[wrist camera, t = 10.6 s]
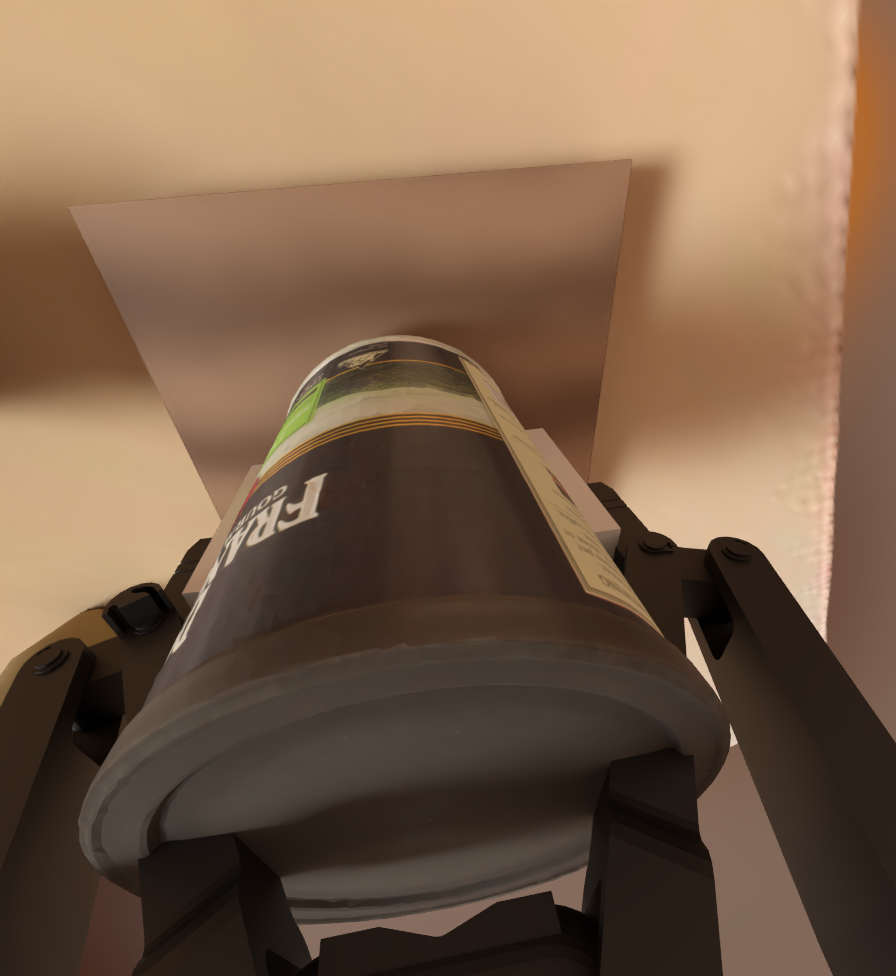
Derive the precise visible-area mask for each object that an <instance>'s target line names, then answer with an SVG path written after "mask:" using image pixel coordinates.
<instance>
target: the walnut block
mask: <svg viewBox="0 0 896 976" xmlns="http://www.w3.org/2000/svg"><path fill="white" fill-rule="evenodd" d="M631 163H632V159H626V160H614V161H602V162H591V163H579V164H567V165H555V166H543V167H531V168H519V169H507V170H495V171H484V172H472V173H460V174H448V175H436V176H424V177H412V178H400V179H388V180H376V181H365V182H353V183H341V184H329V185H317V186H305V187H293V188H281V189H269V190H257V191H246V192H234V193H222V194H210V195H198V196H186V197H174V198H162V199H150V200H138V201H127V202H115V203H103V204H91V205H79V206H68V208H69V211H70V213H71V215H72V217H73V219H74V221H75V223H76V225H77V227H78V229H79V231H80V233H81V235H82V237H83V239H84V241H85V243H86V245H87V247H88V249H89V251H90V253H91V255H92V257H93V259H94V262H95V264H96V266H97V268H98V270H99V272H100V274H101V276H102V278H103V280H104V282H105V284H106V286H107V288H108V290H109V292H110V294H111V296H112V298H113V300H114V302H115V304H116V306H117V308H118V311H119V313H120V315H121V317H122V319H123V321H124V323H125V325H126V327H127V329H128V331H129V333H130V335H131V337H132V339H133V341H134V343H135V345H136V347H137V349H138V351H139V353H140V355H141V357H142V359H143V362H144V364H145V366H146V368H147V370H148V372H149V374H150V376H151V378H152V380H153V382H154V384H155V386H156V388H157V390H158V392H159V394H160V396H161V398H162V400H163V402H164V404H165V406H166V408H167V410H168V413H169V415H170V417H171V419H172V421H173V423H174V425H175V427H176V429H177V431H178V433H179V435H180V437H181V439H182V441H183V443H184V445H185V447H186V449H187V451H188V453H189V455H190V457H191V459H192V461H193V464H194V466H195V468H196V470H197V472H198V474H199V476H200V478H201V480H202V482H203V484H204V486H205V488H206V490H207V492H208V494H209V496H210V498H211V500H212V502H213V504H214V506H215V508H216V510H217V513H218V515H219V517H220V519H221V521H222V519H223V517H224V516H225V514H226V512H227V510H228V508H229V506H230V505H231V503H232V501H233V499H234V497H235V495H236V494H237V492H238V490H239V488H240V486H241V484H242V483H243V481H244V479H245V477H246V475H247V473H248V472H249V470H250V468H251V466H253V465H261V464H264V462H265V460H266V458H267V456H268V454H269V451H270V449H271V448H272V446H273V444H274V442H275V440H276V438H277V436H278V434H279V432H280V430H281V428H282V426H283V423H284V421H285V419H286V417H287V413H288V410H289V407H290V404H291V401H292V399H293V397H294V395H295V394H296V392H297V390H298V389H299V387H300V385H301V384H302V383H303V381H304V380H305V379H306V377H307V376H308V375H309V374H310V373H311V372H312V371H313V369H314V368H316V367H317V366H318V365H319V364H320V363H321V362H322V361H324V360H325V359H326V358H328V357H329V356H330V355H332V354H333V353H335V352H337V351H339V350H340V349H342V348H344V347H347V346H348V345H350V344H353V343H356V342H359V341H361V340H365V339H370V338H375V337H380V336H390V335H410V336H418V337H423V338H427V339H432V340H436V341H439V342H441V343H444V344H446V345H449V346H452V347H454V348H456V349H458V350H460V351H462V352H463V353H464V354H465V355H467V356H469V357H470V358H471V359H473V360H474V361H475V362H477V363H478V364H479V365H480V366H481V367H482V368H483V369H484V370H485V371H486V372H487V373H488V374H489V375H490V377H491V378H492V379H493V380H494V382H495V383H496V385H497V386H498V387H499V389H500V391H501V393H502V395H503V397H504V399H505V401H506V403H507V404H508V406H509V407H510V409H511V410H512V412H513V413H514V415H515V416H516V418H517V419H518V421H519V422H520V424H521V425H522V427H523V428H524V429H525V430H531V429H539V428H543V429H544V430H545V432H546V433H547V434H548V436H549V437H550V438H551V439H552V441H553V442H554V443H555V445H556V446H557V447H558V448H559V450H560V451H561V452H562V454H563V455H564V456H565V457H566V459H567V460H568V461H569V463H570V464H571V465H572V466H573V468H574V469H575V470H576V472H577V473H578V474H579V475H580V477H581V478H582V479H583V481H584V482H585V483H586V484H588V477H589V470H590V463H591V455H592V448H593V441H594V433H595V426H596V419H597V411H598V404H599V397H600V389H601V382H602V375H603V368H604V360H605V353H606V346H607V338H608V331H609V324H610V316H611V309H612V302H613V295H614V287H615V280H616V273H617V265H618V258H619V251H620V243H621V236H622V229H623V221H624V214H625V207H626V200H627V192H628V185H629V178H630V170H631Z"/></svg>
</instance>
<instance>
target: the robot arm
mask: <svg viewBox="0 0 896 976" xmlns="http://www.w3.org/2000/svg"><path fill="white" fill-rule="evenodd" d="M525 431H526V432H527V434H528V436H529V437H530V439H531V440H532V442H533V443H534V445H535V446H536V448H537V449H538V451H539V452H540V454H541V455H542V457H543V458H544V460H545V461H546V463H547V464H548V465H549V467H550V468H551V470H552V471H553V473H554V474H555V476H556V477H557V479H558V480H559V482H560V483H561V485H562V486H563V488H564V489H565V491H566V492H567V493H568V495H569V496H570V498H571V499H572V501H573V502H574V504H575V505H576V507H577V508H578V510H579V511H580V512H581V514H582V515H583V516H584V518H585V519H586V521H587V522H588V524H589V525H590V527H591V529H592V531H593V532H594V534H595V535H596V537H597V538H598V540H599V541H600V543H601V544H602V545H603V547H604V548H605V550H606V551H607V553H608V554H609V556H610V557H611V559H612V560H613V562H614V563H615V565H616V566H617V567H618V569H619V570H620V572H621V573H622V575H623V576H624V578H625V579H626V581H627V582H628V584H629V585H630V587H631V588H632V590H633V591H634V593H635V594H636V596H637V597H638V599H639V600H640V602H641V603H642V605H643V606H644V608H645V609H646V611H647V612H648V614H649V615H650V617H651V618H652V620H653V621H654V623H655V624H656V626H657V627H658V629H659V630H660V631H661V633H662V634H663V636H664V637H665V639H667V640H668V641H669V642H671V643H672V644H673V645H675V646H676V647H677V648H678V649H679V650H680V651H681V652H682V653H683V654H684V655H685V656H686V642H685V628H684V617H685V618H688V620H689V622H690V625H691V627H692V630H693V632H694V635H695V637H696V640H697V642H698V645H699V647H700V649H701V652H702V654H703V657H704V659H705V662H706V664H707V667H708V669H709V672H710V674H711V677H712V679H713V682H714V684H715V687H716V689H717V692H718V694H719V697H720V699H721V702H722V704H723V706H724V708H725V710H726V712H727V715H728V718H729V722H730V724H731V727H732V729H733V731H734V734H735V736H736V739H737V741H738V744H739V746H740V749H741V751H742V754H743V756H744V759H745V761H746V764H747V766H748V769H749V771H750V773H751V776H752V779H753V781H754V783H755V786H756V789H757V791H758V794H759V796H760V798H761V801H762V804H763V806H764V809H765V811H766V813H767V816H768V818H769V821H770V823H771V826H772V828H773V831H774V833H775V836H776V838H777V841H778V843H779V846H780V848H781V851H782V853H783V856H784V858H785V861H786V863H787V866H788V868H789V871H790V873H791V876H792V878H793V881H794V883H795V886H796V888H797V891H798V893H799V895H800V898H801V900H802V903H803V905H804V908H805V910H806V913H807V915H808V918H809V920H810V923H811V925H812V928H813V930H814V933H815V935H816V938H817V940H818V943H819V945H820V947H821V949H822V952H823V954H824V956H825V959H826V961H827V963H828V965H829V968H830V970H831V972H832V974H833V976H896V743H895V741H894V740H893V738H892V737H891V735H890V734H889V733H888V731H887V730H886V728H885V727H884V725H883V724H882V723H881V721H880V720H879V718H878V717H877V715H876V714H875V713H874V711H873V710H872V708H871V707H870V705H869V704H868V703H867V701H866V700H865V698H864V697H863V695H862V694H861V693H860V691H859V690H858V688H857V687H856V685H855V684H854V683H853V681H852V680H851V678H850V677H849V675H848V674H847V673H846V671H845V670H844V668H843V667H842V665H841V664H840V663H839V661H838V660H837V658H836V657H835V655H834V654H833V653H832V651H831V650H830V648H829V647H828V645H827V644H826V642H825V641H824V640H823V638H822V637H821V635H820V634H819V632H818V631H817V630H816V628H815V627H814V625H813V624H812V622H811V621H810V620H809V618H808V617H807V615H806V614H805V612H804V611H803V610H802V608H801V607H800V605H799V604H798V602H797V601H796V600H795V598H794V597H793V595H792V594H791V592H790V591H789V589H788V588H787V587H786V585H785V584H784V582H783V581H782V579H781V578H780V577H779V575H778V574H777V572H776V571H775V569H774V568H773V567H772V565H771V564H770V562H769V561H768V559H767V558H766V557H765V555H764V554H763V553H762V552H761V551H760V550H759V549H758V548H757V547H756V546H754V545H752V544H751V543H749V542H747V541H744V540H741V539H738V538H732V537H718V538H715V539H713V540H711V542H710V544H709V546H708V548H707V550H704V549H692V548H682V547H677V545H676V544H675V543H674V542H673V541H672V540H671V539H670V538H668V537H666V536H664V535H663V534H659V533H656V532H649V530H648V529H647V528H646V527H645V526H644V525H643V523H642V522H641V521H640V520H639V519H638V518H637V517H636V515H635V514H634V513H633V512H632V511H631V510H630V508H629V507H627V505H626V504H625V503H624V501H623V500H621V498H620V497H619V496H618V495H617V493H616V492H615V491H614V490H613V489H612V488H610V487H608V486H606V485H605V484H603V483H601V482H598V483H591V484H586V483H585V482H584V481H583V479H582V478H581V477H580V475H579V474H578V473H577V472H576V470H575V469H574V468H573V466H572V465H571V464H570V463H569V461H568V460H567V459H566V457H565V456H564V455H563V454H562V452H561V451H560V450H559V448H558V447H557V446H556V445H555V443H554V442H553V441H552V439H551V438H550V437H549V436H548V434H547V433H546V432H545V430H544V429H543V428H539V429H531V430H525ZM262 466H263V464H261V465H253V466H251V468H250V470H249V472H248V473H247V475H246V477H245V479H244V481H243V483H242V484H241V486H240V488H239V490H238V492H237V494H236V495H235V497H234V499H233V501H232V503H231V505H230V506H229V508H228V510H227V512H226V514H225V516H224V517H223V519H222V521H221V523H220V525H219V527H218V528H217V530H216V532H215V534H214V536H213V538H205V539H200V540H199V541H198V542H197V543H196V544H194V545H193V546H192V547H191V548H190V549H189V550H188V551H187V553H186V554H185V556H184V558H183V559H182V561H181V564H180V565H179V566H178V567H177V569H176V571H175V574H173V576H172V577H171V579H170V581H169V582H168V584H167V586H166V587H165V589H164V590H163V589H162V588H161V586H160V585H159V584H156V583H142V584H139V585H136V586H133V587H130V588H129V589H127V590H125V591H123V592H121V593H119V594H118V595H117V596H116V597H114V598H113V599H112V600H110V602H109V603H108V604H107V605H106V606H105V608H104V609H103V612H102V616H101V617H102V618H103V619H104V620H105V621H106V623H107V624H108V625H109V626H110V627H111V629H112V630H113V631H114V632H115V633H116V635H117V636H116V637H113V638H111V639H108V640H105V641H103V642H100V643H97V644H95V645H92V646H89V647H87V646H86V645H85V644H84V643H83V641H82V640H81V639H80V638H72V637H71V638H66V639H62V640H59V641H56V642H54V643H52V644H49V645H47V646H46V647H44V648H43V649H41V650H39V651H38V652H36V653H35V654H34V655H33V656H32V657H30V658H29V659H28V660H27V661H26V662H25V663H24V664H23V666H22V667H21V668H20V670H19V671H18V673H17V675H16V677H15V679H14V681H13V683H12V685H11V687H10V689H9V691H8V693H7V695H6V697H5V699H4V701H3V703H2V705H1V707H0V976H78V975H79V971H80V966H81V961H82V957H83V952H84V947H85V943H86V937H87V933H88V929H89V924H90V919H91V915H92V910H93V905H94V901H95V896H96V891H97V887H98V882H99V877H100V873H98V871H97V870H96V869H95V868H94V867H93V865H92V864H91V863H90V862H89V860H88V859H87V857H86V856H85V854H84V853H83V850H82V848H81V845H80V842H79V833H80V828H79V825H78V820H79V816H80V813H81V809H82V806H83V802H84V799H85V797H86V795H87V792H88V790H89V788H90V786H91V783H92V781H93V780H94V778H95V776H96V775H97V773H98V771H99V769H100V768H101V766H102V764H103V763H104V761H105V759H106V757H107V756H108V754H109V752H110V751H111V749H112V747H113V746H114V744H115V743H116V741H117V739H118V738H119V736H120V735H121V733H122V731H123V730H124V728H125V727H126V726H127V725H128V724H129V723H130V722H131V721H132V719H133V718H134V717H135V716H136V715H137V714H138V713H139V712H140V711H141V710H142V708H143V705H144V703H145V700H146V698H147V696H148V694H149V692H150V690H151V689H152V687H153V684H154V681H155V678H156V676H157V675H158V673H159V672H160V670H161V669H162V667H163V666H164V664H165V662H166V660H167V657H168V655H169V653H170V651H171V649H172V647H173V645H174V643H175V641H176V639H177V637H178V635H179V633H180V631H181V629H182V627H183V624H184V622H185V619H186V617H187V616H188V614H189V612H190V611H191V609H192V607H193V606H194V604H195V602H196V600H197V598H198V595H199V593H200V591H201V589H202V587H203V585H204V583H205V581H206V579H207V577H208V574H209V572H210V570H211V569H212V567H213V565H214V563H215V561H216V559H217V557H218V555H219V553H220V551H221V549H222V547H223V545H224V543H225V541H226V538H227V536H228V534H229V532H230V530H231V527H232V525H233V523H234V522H235V520H236V518H237V515H238V513H239V511H240V509H241V507H242V505H243V503H244V501H245V499H246V498H247V496H248V494H249V492H250V490H251V489H252V486H253V484H254V482H255V480H256V478H257V475H258V474H259V472H260V470H261V468H262ZM686 657H687V656H686ZM138 866H139V878H140V890H141V902H142V913H143V925H144V936H145V939H144V941H145V942H144V943H145V948H144V953H143V957H142V958H141V960H140V961H139V962H138V964H137V965H136V967H135V968H134V970H133V973H132V976H723V972H722V960H721V948H720V939H719V926H718V914H717V903H716V892H715V881H714V874H713V867H712V861H711V858H710V854H709V851H708V849H707V847H706V846H705V845H704V843H703V842H702V840H701V837H700V832H699V824H698V810H697V796H696V782H695V768H694V755H689V756H688V755H683V754H681V753H680V752H678V751H677V750H675V749H674V748H664V749H661V750H658V751H655V752H651V753H646V754H641V755H637V756H632V757H627V758H623V759H618V760H613V761H611V763H610V766H609V770H608V773H607V776H606V779H605V782H604V785H603V788H602V791H601V794H600V797H599V800H598V803H597V806H596V810H595V813H594V816H593V824H592V834H591V844H590V853H589V860H588V866H587V872H586V878H585V885H584V893H583V903H582V911H581V912H580V911H577V910H574V909H572V908H569V907H566V906H561V905H556V904H554V900H553V896H552V892H551V891H548V892H543V893H538V894H534V895H529V896H524V897H519V898H515V899H510V900H505V901H500V902H496V903H495V904H493V905H492V906H490V907H488V908H487V909H485V910H484V911H482V912H480V913H479V914H477V915H476V916H474V917H473V918H471V919H469V920H468V921H466V922H464V923H463V924H461V925H460V926H458V927H456V928H455V929H453V930H452V931H450V932H449V933H447V934H445V935H443V936H440V937H432V936H427V935H421V934H415V933H410V932H405V931H399V930H393V929H387V928H381V927H376V928H372V929H367V930H362V931H358V932H353V933H348V934H343V935H338V936H333V937H329V938H324V939H321V942H320V954H319V956H318V957H317V958H315V959H313V960H312V959H311V956H310V953H309V950H308V947H307V945H306V943H305V940H304V938H303V935H302V934H301V932H300V930H299V928H298V926H297V924H296V922H295V920H294V918H293V915H292V913H291V910H290V907H289V904H288V901H287V898H286V894H285V891H284V888H283V885H282V882H281V878H280V877H279V876H278V875H277V874H276V873H275V872H274V871H273V870H272V869H271V868H270V867H269V866H267V865H266V864H265V863H264V862H263V861H262V860H261V859H260V858H259V857H258V856H257V855H256V854H255V853H254V852H253V851H252V850H251V849H250V848H249V847H248V846H247V845H245V844H244V843H243V842H242V841H241V840H240V839H239V838H238V837H237V836H236V835H235V834H234V833H233V832H232V833H226V834H220V835H213V836H206V837H199V838H192V839H186V840H170V841H165V842H163V843H161V844H160V845H159V846H158V847H157V848H156V849H155V850H154V851H153V852H152V853H151V854H150V855H148V856H146V857H144V858H141V859H138Z"/></svg>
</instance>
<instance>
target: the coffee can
mask: <svg viewBox="0 0 896 976" xmlns="http://www.w3.org/2000/svg"><path fill="white" fill-rule="evenodd" d="M730 739H731V734H730V722H729V718H728V715H727V712H726V710H725V708H724V706H723V705H722V703H721V701H720V700H719V698H718V696H717V695H716V693H715V691H714V690H713V689H712V687H711V686H710V685H709V684H708V682H707V681H706V680H705V679H704V677H703V676H702V675H701V674H700V672H699V671H698V670H697V668H696V667H695V666H694V665H693V663H692V662H691V661H690V660H689V659H688V658H687V657H686V656H685V655H684V654H683V653H682V652H681V651H680V650H679V649H678V648H677V647H676V646H675V645H673V644H672V643H671V642H669V641H668V640H667V639H665V637H664V636H663V634H662V633H661V631H660V630H659V629H658V627H657V626H656V624H655V623H654V621H653V620H652V618H651V617H650V615H649V614H648V612H647V611H646V609H645V608H644V606H643V605H642V603H641V602H640V600H639V599H638V597H637V596H636V594H635V593H634V591H633V590H632V588H631V587H630V585H629V584H628V582H627V581H626V579H625V578H624V576H623V575H622V573H621V572H620V570H619V569H618V567H617V566H616V565H615V563H614V562H613V560H612V559H611V557H610V556H609V554H608V553H607V551H606V550H605V548H604V547H603V545H602V544H601V543H600V541H599V540H598V538H597V537H596V535H595V534H594V532H593V531H592V529H591V527H590V525H589V524H588V522H587V521H586V519H585V518H584V516H583V515H582V514H581V512H580V511H579V510H578V508H577V507H576V505H575V504H574V502H573V501H572V499H571V498H570V496H569V495H568V493H567V492H566V491H565V489H564V488H563V486H562V485H561V483H560V482H559V480H558V479H557V477H556V476H555V474H554V473H553V471H552V470H551V468H550V467H549V465H548V464H547V463H546V461H545V460H544V458H543V457H542V455H541V454H540V452H539V451H538V449H537V448H536V446H535V445H534V443H533V442H532V440H531V439H530V437H529V436H528V434H527V432H526V431H525V429H524V428H523V427H522V425H521V424H520V422H519V421H518V419H517V418H516V416H515V415H514V413H513V412H512V410H511V409H510V407H509V406H508V404H507V403H506V401H505V399H504V397H503V395H502V393H501V391H500V389H499V387H498V386H497V385H496V383H495V382H494V380H493V379H492V378H491V377H490V375H489V374H488V373H487V372H486V371H485V370H484V369H483V368H482V367H481V366H480V365H479V364H478V363H477V362H475V361H474V360H473V359H471V358H470V357H469V356H467V355H465V354H464V353H463V352H462V351H460V350H458V349H456V348H454V347H452V346H449V345H446V344H444V343H441V342H439V341H436V340H432V339H427V338H423V337H418V336H410V335H390V336H380V337H375V338H370V339H365V340H361V341H359V342H356V343H353V344H350V345H348V346H347V347H344V348H342V349H340V350H339V351H337V352H335V353H333V354H332V355H330V356H329V357H328V358H326V359H325V360H324V361H322V362H321V363H320V364H319V365H318V366H317V367H316V368H314V369H313V371H312V372H311V373H310V374H309V375H308V376H307V377H306V379H305V380H304V381H303V383H302V384H301V385H300V387H299V389H298V390H297V392H296V394H295V395H294V397H293V399H292V401H291V404H290V407H289V410H288V413H287V417H286V419H285V421H284V423H283V426H282V428H281V430H280V432H279V434H278V436H277V438H276V440H275V442H274V444H273V446H272V448H271V449H270V451H269V454H268V456H267V458H266V460H265V462H264V464H263V466H262V468H261V470H260V472H259V474H258V475H257V478H256V480H255V482H254V484H253V486H252V489H251V490H250V492H249V494H248V496H247V498H246V499H245V501H244V503H243V505H242V507H241V509H240V511H239V513H238V515H237V518H236V520H235V522H234V523H233V525H232V527H231V530H230V532H229V534H228V536H227V538H226V541H225V543H224V545H223V547H222V549H221V551H220V553H219V555H218V557H217V559H216V561H215V563H214V565H213V567H212V569H211V570H210V572H209V574H208V577H207V579H206V581H205V583H204V585H203V587H202V589H201V591H200V593H199V595H198V598H197V600H196V602H195V604H194V606H193V607H192V609H191V611H190V612H189V614H188V616H187V617H186V619H185V622H184V624H183V627H182V629H181V631H180V633H179V635H178V637H177V639H176V641H175V643H174V645H173V647H172V649H171V651H170V653H169V655H168V657H167V660H166V662H165V664H164V666H163V667H162V669H161V670H160V672H159V673H158V675H157V676H156V678H155V681H154V684H153V687H152V689H151V690H150V692H149V694H148V696H147V698H146V700H145V703H144V705H143V708H142V710H141V711H140V712H139V713H138V714H137V715H136V716H135V717H134V718H133V719H132V721H131V722H130V723H129V724H128V725H127V726H126V727H125V728H124V730H123V731H122V733H121V735H120V736H119V738H118V739H117V741H116V743H115V744H114V746H113V747H112V749H111V751H110V752H109V754H108V756H107V757H106V759H105V761H104V763H103V764H102V766H101V768H100V769H99V771H98V773H97V775H96V776H95V778H94V780H93V781H92V783H91V786H90V788H89V790H88V792H87V795H86V797H85V799H84V802H83V806H82V809H81V813H80V816H79V820H78V825H79V828H80V833H79V842H80V845H81V848H82V850H83V853H84V854H85V856H86V857H87V859H88V860H89V862H90V863H91V864H92V865H93V867H94V868H95V869H96V870H97V871H98V873H100V874H101V875H102V876H104V877H105V878H106V879H108V880H109V881H110V882H112V883H114V884H116V885H118V886H120V887H121V888H123V889H125V890H126V891H128V892H130V893H132V894H134V895H136V896H138V897H140V898H141V890H140V878H139V866H138V859H141V858H144V857H146V856H148V855H150V854H151V853H152V852H153V851H154V850H155V849H156V848H157V847H158V846H159V845H160V844H161V843H163V842H165V841H170V840H186V839H192V838H199V837H206V836H213V835H220V834H226V833H232V832H233V833H234V834H235V835H236V836H237V837H238V838H239V839H240V840H241V841H242V842H243V843H244V844H245V845H247V846H248V847H249V848H250V849H251V850H252V851H253V852H254V853H255V854H256V855H257V856H258V857H259V858H260V859H261V860H262V861H263V862H264V863H265V864H266V865H267V866H269V867H270V868H271V869H272V870H273V871H274V872H275V873H276V874H277V875H278V876H279V877H280V878H281V882H282V885H283V888H284V891H285V894H286V898H287V901H288V904H289V907H290V910H291V913H292V915H293V918H294V920H295V922H296V924H297V925H300V924H326V923H341V922H359V921H368V920H375V919H388V918H395V917H402V916H406V915H413V914H421V913H426V912H430V911H435V910H441V909H447V908H453V907H458V906H462V905H467V904H472V903H477V902H481V901H485V900H489V899H493V898H497V897H501V896H505V895H508V894H512V893H515V892H519V891H522V890H525V889H529V888H532V887H535V886H537V885H540V884H543V883H546V882H550V881H553V880H556V879H559V878H561V877H564V876H566V875H569V874H571V873H574V872H576V871H579V870H581V869H583V868H586V867H587V866H588V860H589V853H590V844H591V834H592V824H593V816H594V813H595V810H596V806H597V803H598V800H599V797H600V794H601V791H602V788H603V785H604V782H605V779H606V776H607V773H608V770H609V766H610V763H611V761H613V760H618V759H623V758H627V757H632V756H637V755H641V754H646V753H651V752H655V751H658V750H661V749H664V748H674V749H675V750H677V751H678V752H680V753H681V754H683V755H688V756H689V755H694V768H695V782H696V796H697V799H698V798H699V797H700V796H701V795H702V794H703V793H704V791H705V790H706V789H707V788H708V787H709V786H710V785H711V784H712V782H713V781H714V779H715V778H716V776H717V775H718V773H719V772H720V770H721V768H722V766H723V765H724V762H725V760H726V757H727V755H728V752H729V748H730Z"/></svg>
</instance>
